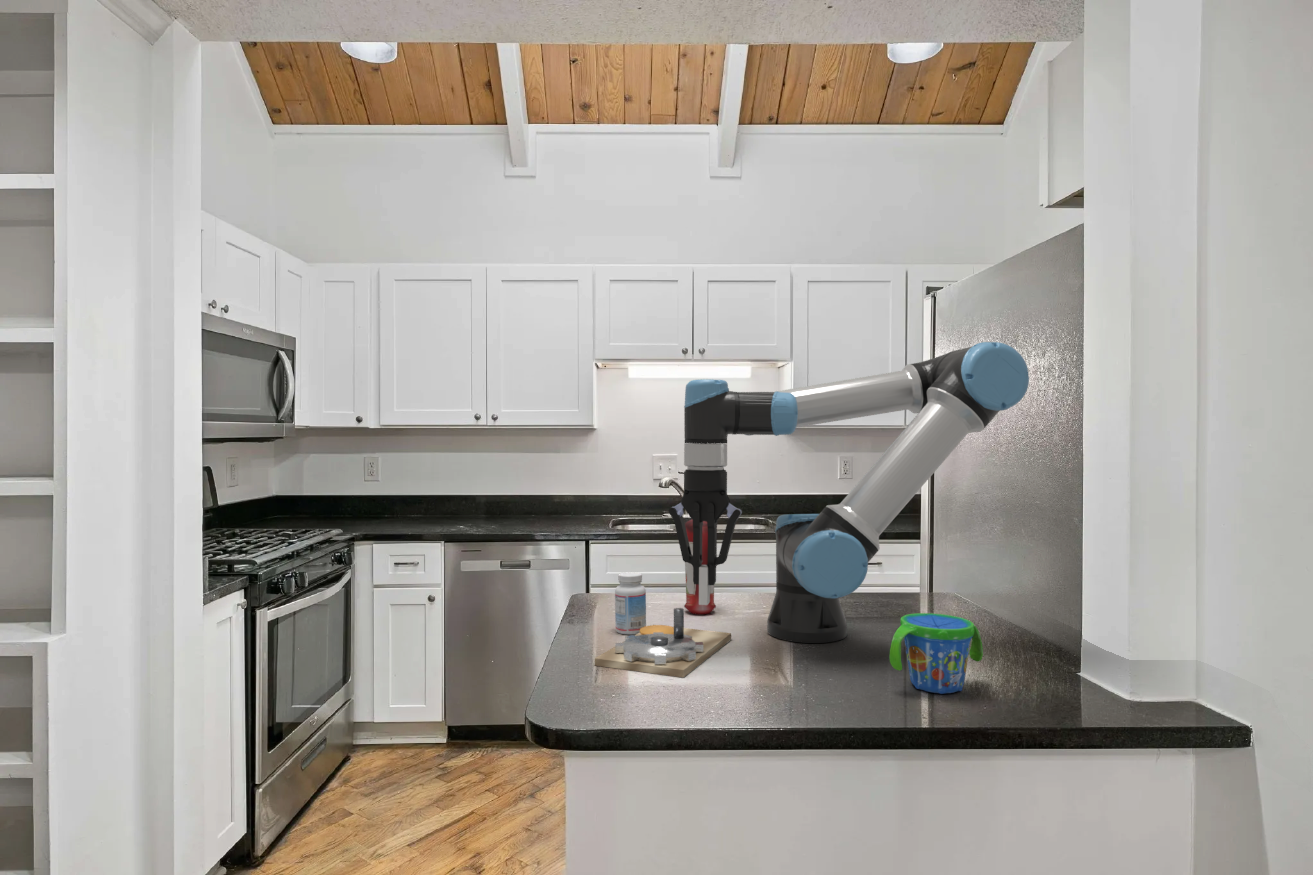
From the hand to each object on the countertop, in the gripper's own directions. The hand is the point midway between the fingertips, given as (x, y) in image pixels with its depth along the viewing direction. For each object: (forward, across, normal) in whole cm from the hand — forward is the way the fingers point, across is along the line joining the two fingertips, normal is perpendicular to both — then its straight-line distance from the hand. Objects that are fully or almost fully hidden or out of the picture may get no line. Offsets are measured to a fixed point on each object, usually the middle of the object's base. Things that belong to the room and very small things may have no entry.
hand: (704, 603), depth 132 cm
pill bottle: (+9, +17, -12) cm, 23 cm away
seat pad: (+8, +10, -9) cm, 16 cm away
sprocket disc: (+8, +7, +4) cm, 11 cm away
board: (+9, +7, 0) cm, 11 cm away
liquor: (+9, +6, -31) cm, 33 cm away
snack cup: (+9, -37, +8) cm, 39 cm away
